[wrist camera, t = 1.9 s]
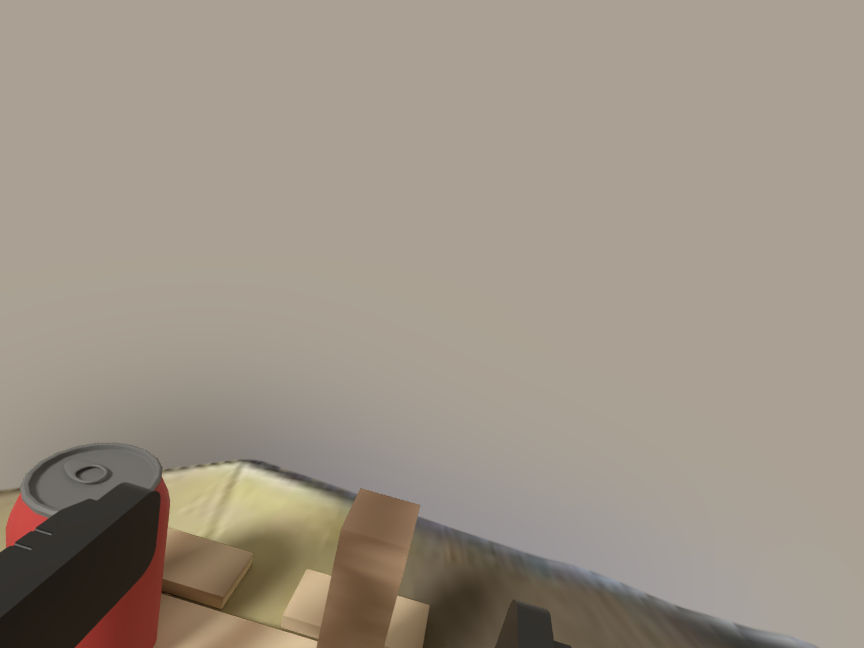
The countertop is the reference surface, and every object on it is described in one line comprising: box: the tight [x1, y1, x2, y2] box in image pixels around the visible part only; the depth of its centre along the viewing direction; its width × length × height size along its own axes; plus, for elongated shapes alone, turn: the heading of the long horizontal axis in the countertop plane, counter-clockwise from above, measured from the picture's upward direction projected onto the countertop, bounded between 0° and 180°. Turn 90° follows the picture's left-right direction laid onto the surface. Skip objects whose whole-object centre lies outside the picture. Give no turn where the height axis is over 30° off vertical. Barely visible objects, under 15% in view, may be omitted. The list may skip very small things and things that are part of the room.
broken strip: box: [161, 528, 430, 648], centre depth 33 cm, size 22×4×1 cm, turn 82°
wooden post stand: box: [153, 489, 420, 648], centre depth 24 cm, size 22×8×14 cm, turn 82°
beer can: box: [6, 443, 170, 648], centre depth 25 cm, size 7×7×12 cm
